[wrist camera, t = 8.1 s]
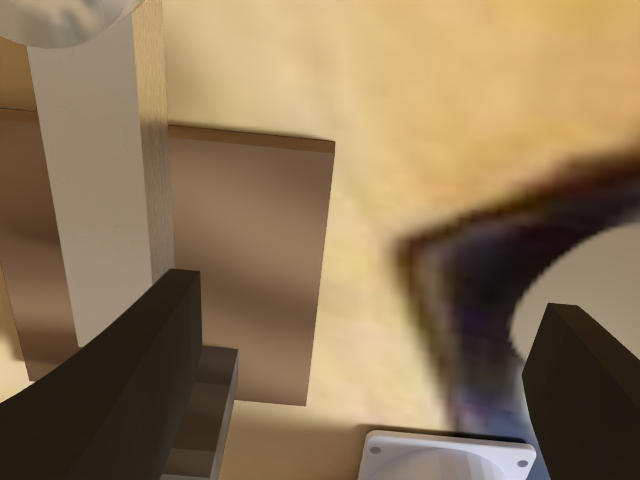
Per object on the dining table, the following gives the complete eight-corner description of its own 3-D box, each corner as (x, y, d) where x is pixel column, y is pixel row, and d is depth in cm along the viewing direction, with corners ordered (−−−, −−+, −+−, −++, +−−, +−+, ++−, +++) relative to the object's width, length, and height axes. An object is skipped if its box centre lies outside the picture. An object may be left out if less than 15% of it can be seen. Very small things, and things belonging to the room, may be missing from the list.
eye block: (307, 389, 26) (296, 539, 21) (39, 364, 26) (-50, 508, 20) (334, 141, 20) (331, 256, 14) (-19, 106, 20) (-174, 207, 14)
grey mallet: (205, 292, 21) (168, 401, 16) (90, 281, 20) (24, 388, 16) (197, -179, 13) (128, -201, 9) (20, -199, 13) (-132, -229, 9)
